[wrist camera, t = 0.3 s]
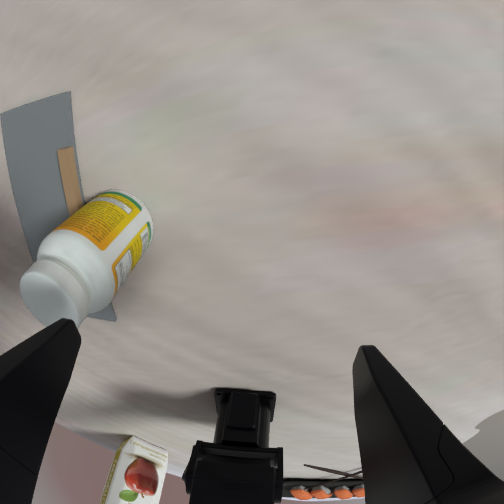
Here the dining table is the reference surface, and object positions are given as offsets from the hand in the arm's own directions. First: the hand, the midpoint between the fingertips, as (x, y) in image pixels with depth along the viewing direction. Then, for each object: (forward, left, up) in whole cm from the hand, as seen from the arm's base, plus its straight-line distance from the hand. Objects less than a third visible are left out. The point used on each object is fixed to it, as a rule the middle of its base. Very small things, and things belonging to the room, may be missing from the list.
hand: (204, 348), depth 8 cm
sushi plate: (-56, -21, -13) cm, 61 cm away
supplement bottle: (-2, +9, -13) cm, 16 cm away
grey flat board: (-2, +16, -12) cm, 20 cm away
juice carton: (-45, +18, -13) cm, 50 cm away
